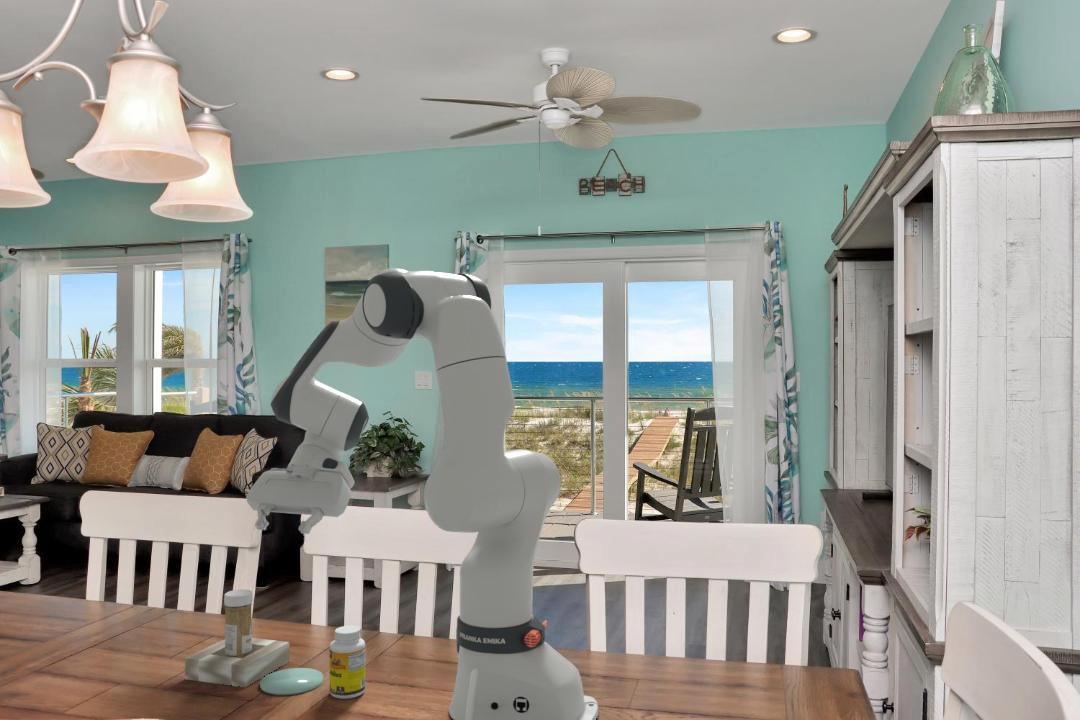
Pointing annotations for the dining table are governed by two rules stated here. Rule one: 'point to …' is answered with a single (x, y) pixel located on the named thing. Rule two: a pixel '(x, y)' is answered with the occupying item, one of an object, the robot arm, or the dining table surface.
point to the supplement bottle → (347, 663)
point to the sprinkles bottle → (238, 623)
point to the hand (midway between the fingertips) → (281, 530)
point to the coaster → (291, 681)
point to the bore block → (236, 663)
